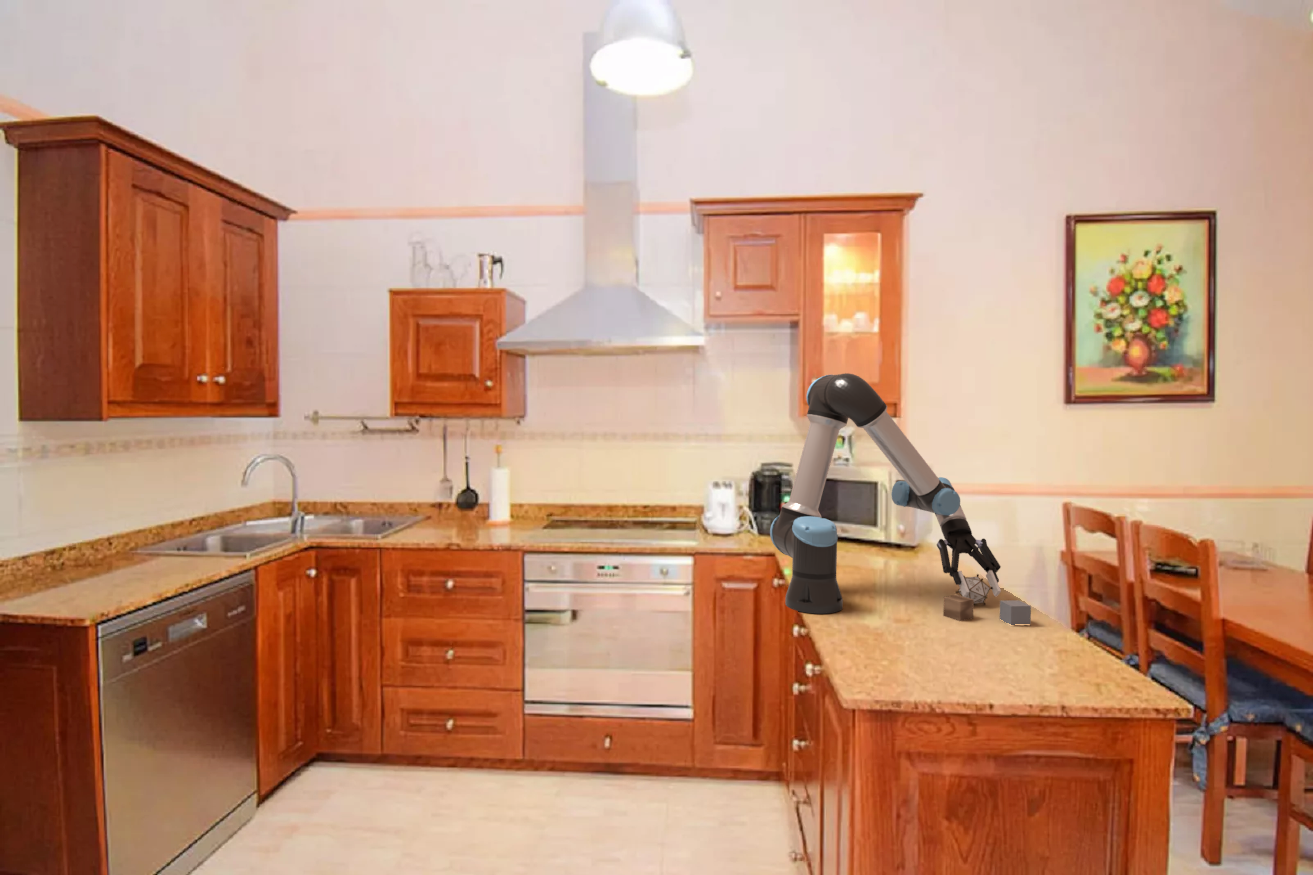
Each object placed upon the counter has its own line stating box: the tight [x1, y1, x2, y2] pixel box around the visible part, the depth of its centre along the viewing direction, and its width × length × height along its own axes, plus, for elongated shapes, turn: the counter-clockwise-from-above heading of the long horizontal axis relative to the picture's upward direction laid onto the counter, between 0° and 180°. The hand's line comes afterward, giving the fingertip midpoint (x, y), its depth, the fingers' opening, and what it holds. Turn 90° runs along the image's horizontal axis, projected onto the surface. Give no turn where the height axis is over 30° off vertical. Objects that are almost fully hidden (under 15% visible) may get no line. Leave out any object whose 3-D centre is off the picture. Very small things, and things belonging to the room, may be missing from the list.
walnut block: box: [942, 594, 974, 622], centre depth 175 cm, size 5×5×5 cm
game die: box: [954, 573, 993, 606], centre depth 186 cm, size 9×8×10 cm
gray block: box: [999, 599, 1032, 625], centre depth 170 cm, size 5×5×5 cm
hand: (982, 594), depth 183 cm, fingers closed on game die, 8 cm apart
